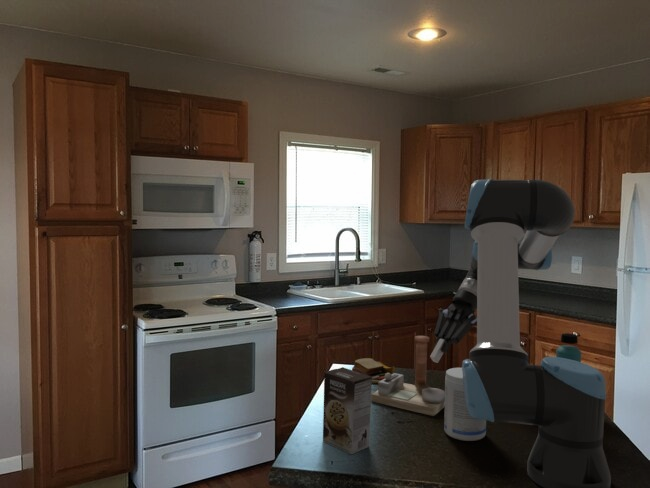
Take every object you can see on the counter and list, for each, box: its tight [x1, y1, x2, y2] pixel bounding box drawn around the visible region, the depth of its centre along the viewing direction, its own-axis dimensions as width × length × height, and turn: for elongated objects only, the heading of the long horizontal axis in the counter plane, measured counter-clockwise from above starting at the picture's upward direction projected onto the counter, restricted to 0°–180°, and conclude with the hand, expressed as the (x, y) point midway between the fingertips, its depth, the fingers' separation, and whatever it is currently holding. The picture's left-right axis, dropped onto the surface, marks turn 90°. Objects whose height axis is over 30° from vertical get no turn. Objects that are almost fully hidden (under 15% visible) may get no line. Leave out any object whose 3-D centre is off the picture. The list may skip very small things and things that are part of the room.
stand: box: [371, 372, 445, 417], centre depth 150 cm, size 14×18×7 cm
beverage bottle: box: [555, 333, 582, 363], centre depth 147 cm, size 6×7×20 cm
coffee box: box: [322, 367, 373, 455], centre depth 122 cm, size 9×6×16 cm
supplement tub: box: [443, 367, 487, 442], centre depth 129 cm, size 10×10×15 cm
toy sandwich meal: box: [351, 357, 396, 384], centre depth 170 cm, size 12×14×5 cm
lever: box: [414, 335, 445, 403], centre depth 149 cm, size 14×6×14 cm, turn 12°
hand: (433, 359), depth 158 cm, fingers closed
